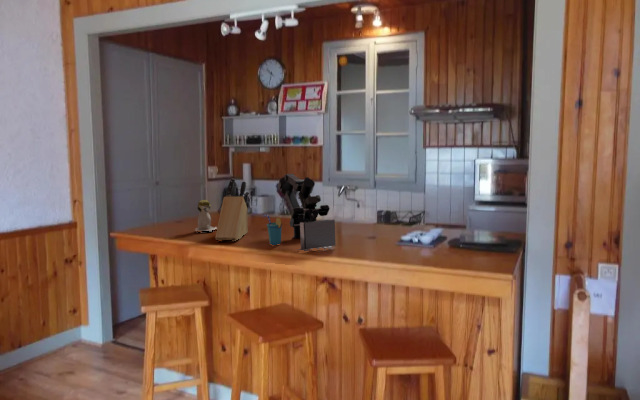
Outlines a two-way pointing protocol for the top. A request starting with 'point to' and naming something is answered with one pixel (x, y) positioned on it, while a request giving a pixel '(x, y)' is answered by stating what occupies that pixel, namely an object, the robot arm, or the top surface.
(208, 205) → the white figurine
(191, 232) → the top surface
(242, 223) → the knife block
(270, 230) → the cup
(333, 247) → the label plate
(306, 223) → the dark grey flat panel
